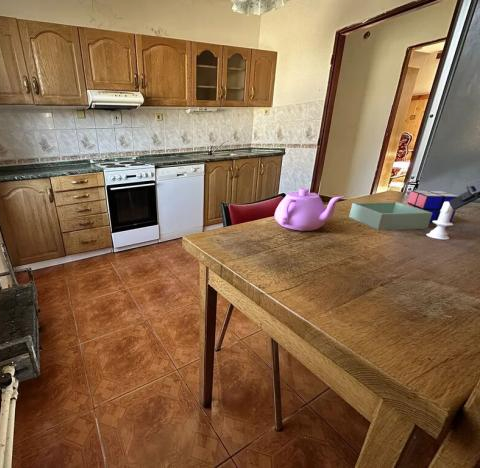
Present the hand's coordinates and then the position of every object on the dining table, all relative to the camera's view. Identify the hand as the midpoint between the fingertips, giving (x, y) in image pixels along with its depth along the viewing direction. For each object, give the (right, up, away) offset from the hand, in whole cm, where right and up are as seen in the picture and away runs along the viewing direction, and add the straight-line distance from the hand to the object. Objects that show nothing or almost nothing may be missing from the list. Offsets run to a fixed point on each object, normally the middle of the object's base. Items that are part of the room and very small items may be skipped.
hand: (476, 205), depth 72 cm
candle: (0, -9, +11) cm, 14 cm away
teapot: (-36, -6, +23) cm, 43 cm away
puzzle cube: (+14, -2, +27) cm, 31 cm away
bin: (-4, -4, +25) cm, 26 cm away
